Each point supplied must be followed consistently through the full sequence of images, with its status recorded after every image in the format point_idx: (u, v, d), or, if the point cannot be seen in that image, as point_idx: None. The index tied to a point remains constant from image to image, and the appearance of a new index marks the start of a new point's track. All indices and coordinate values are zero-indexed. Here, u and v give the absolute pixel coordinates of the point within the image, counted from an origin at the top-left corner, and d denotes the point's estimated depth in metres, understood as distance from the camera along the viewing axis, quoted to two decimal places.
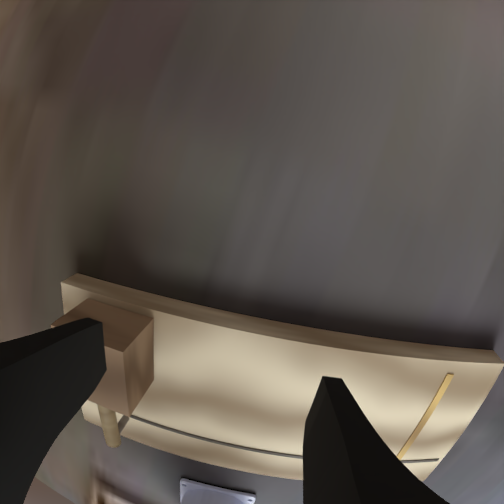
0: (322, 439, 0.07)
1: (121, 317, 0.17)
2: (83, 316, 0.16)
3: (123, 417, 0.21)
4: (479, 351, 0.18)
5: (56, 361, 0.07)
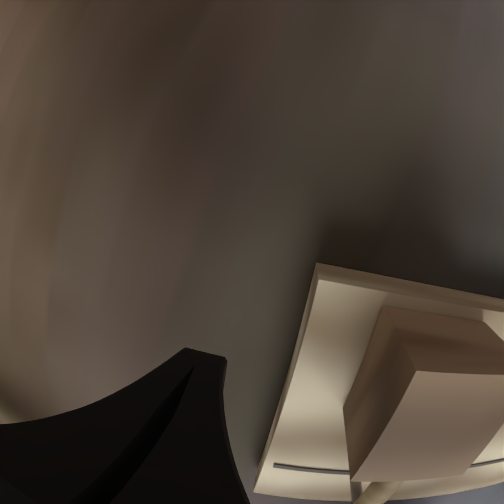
0: None
1: (463, 328, 0.09)
2: (429, 339, 0.08)
3: None
4: None
5: (173, 406, 0.07)
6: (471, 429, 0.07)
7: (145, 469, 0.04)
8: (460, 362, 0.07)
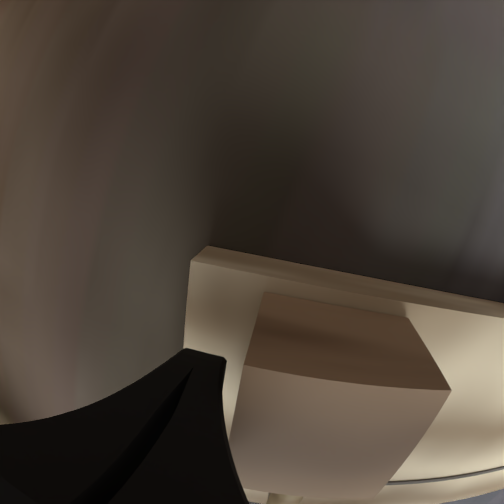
0: None
1: (366, 323, 0.09)
2: (299, 331, 0.08)
3: None
4: None
5: (174, 407, 0.07)
6: (362, 449, 0.07)
7: (144, 469, 0.04)
8: (324, 364, 0.07)
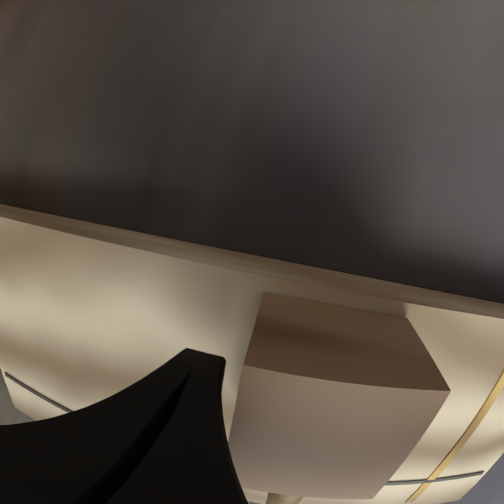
0: None
1: (366, 323, 0.09)
2: (298, 332, 0.08)
3: None
4: None
5: (174, 407, 0.07)
6: (361, 449, 0.07)
7: (143, 468, 0.04)
8: (324, 364, 0.07)
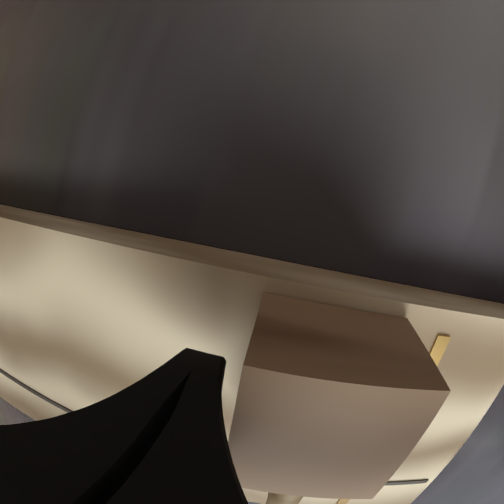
0: None
1: (366, 323, 0.09)
2: (298, 332, 0.08)
3: None
4: (491, 303, 0.11)
5: (174, 407, 0.07)
6: (361, 449, 0.07)
7: (143, 468, 0.04)
8: (324, 364, 0.07)
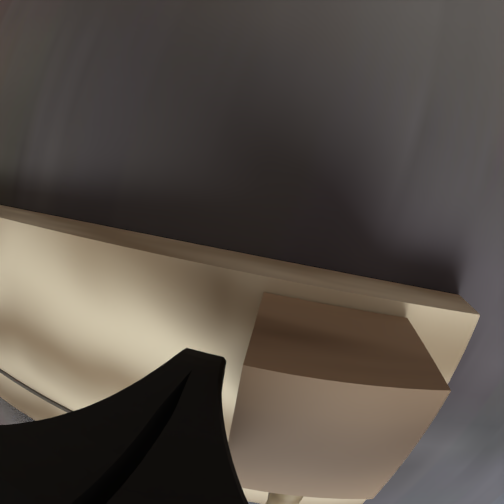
0: None
1: (366, 323, 0.09)
2: (298, 332, 0.08)
3: None
4: (428, 291, 0.11)
5: (174, 407, 0.07)
6: (361, 449, 0.07)
7: (143, 468, 0.04)
8: (323, 364, 0.07)
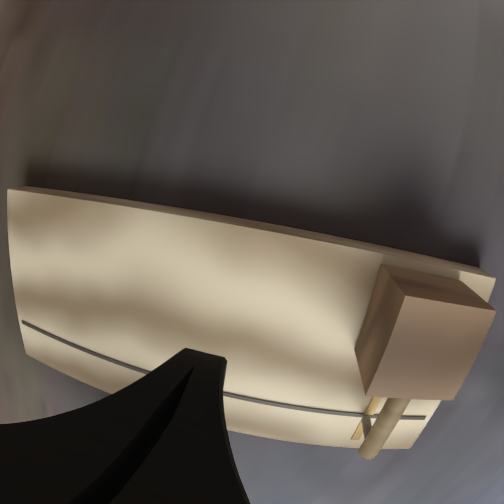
0: None
1: (442, 281, 0.14)
2: (415, 283, 0.13)
3: (367, 419, 0.17)
4: (461, 264, 0.16)
5: (173, 406, 0.07)
6: (453, 352, 0.11)
7: (145, 469, 0.04)
8: (436, 296, 0.11)
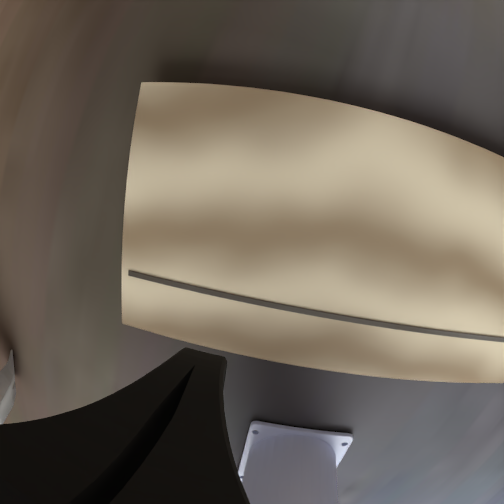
0: None
1: None
2: None
3: None
4: None
5: (173, 406, 0.07)
6: None
7: (145, 469, 0.04)
8: None
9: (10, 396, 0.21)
